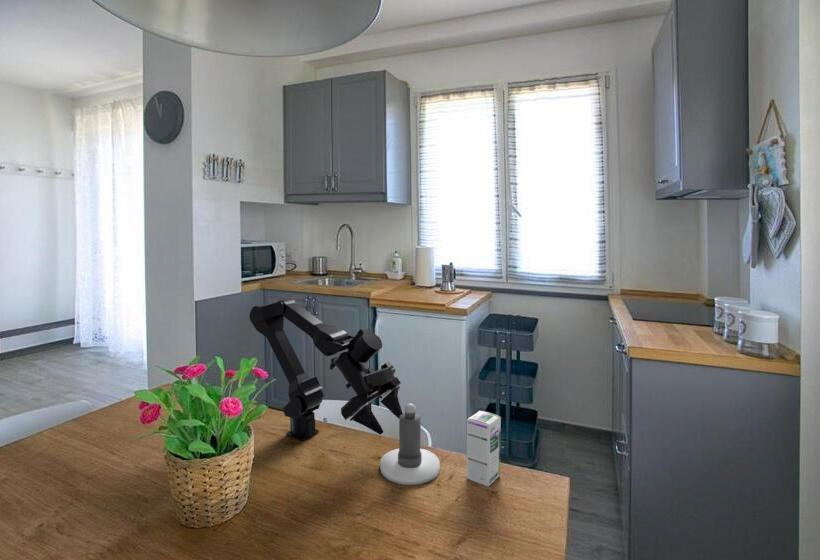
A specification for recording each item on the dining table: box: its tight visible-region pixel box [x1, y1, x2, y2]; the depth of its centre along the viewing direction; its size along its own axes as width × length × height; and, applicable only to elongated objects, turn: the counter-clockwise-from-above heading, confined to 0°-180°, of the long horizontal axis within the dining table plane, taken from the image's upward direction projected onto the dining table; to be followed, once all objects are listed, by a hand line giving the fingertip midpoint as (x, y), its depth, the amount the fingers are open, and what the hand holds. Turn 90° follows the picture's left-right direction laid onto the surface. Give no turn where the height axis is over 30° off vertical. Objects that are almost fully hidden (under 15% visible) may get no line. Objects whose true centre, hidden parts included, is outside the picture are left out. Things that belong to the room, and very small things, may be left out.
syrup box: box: [466, 410, 502, 487], centre depth 98 cm, size 6×6×14 cm
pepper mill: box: [398, 402, 422, 468], centre depth 102 cm, size 6×6×14 cm
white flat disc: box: [379, 447, 441, 486], centre depth 103 cm, size 14×14×2 cm
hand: (392, 425), depth 104 cm, fingers open, 9 cm apart
